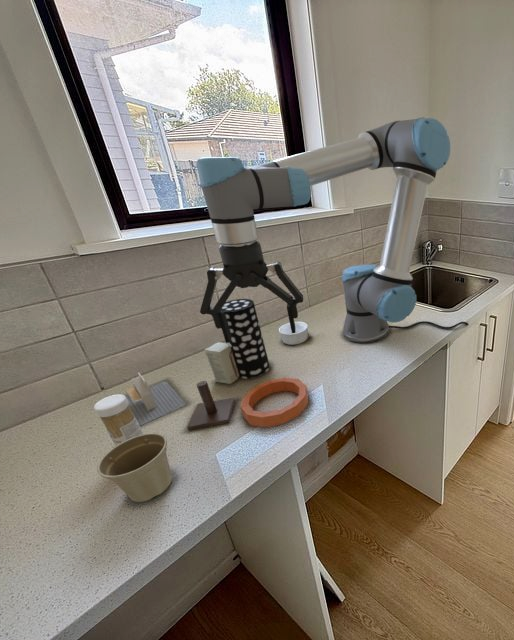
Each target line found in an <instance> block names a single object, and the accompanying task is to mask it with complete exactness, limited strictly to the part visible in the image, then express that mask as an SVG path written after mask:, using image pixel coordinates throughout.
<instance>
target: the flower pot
mask: <svg viewBox="0 0 514 640" xmlns="http://www.w3.org/2000/svg"><path fill="white" fill-rule="evenodd" d="M167 446H168V439H167V437H166V436H165V435H164V434H162V433H159V432H149V433H143V434H142V435H138V436H136V437H133V438H130V439H128V440H126V441H124V442H122V443H120V444H118V445H117V446H115V445H114V447H112V448H111V449H109V450H108V451H107V452H106V453H105V454H104V455H103V456H102V458H101V459H100V460H99V462H98V463H97V466H96V472H97V474H98V475H99V477H102V478H104V479H107V480H109V481H111V482H112V483H114V485H116V486H117V487H118V488H119V489H120V490H121V491H122V492H123V493H124V494H125V495H126V496H127V497H128V498H129V499H130V500H131V501H133V502H135V503H143V502H148V501H150V500H151V499H153V498H154V497H156V496H160V495H161V494H162V493H164V492H165V491H166V490H167V489H168V488H169V487H170V485H171V483H172V481H173V474H172V470H171V467H170V463H169V459H168V454H167V448H168V447H167Z"/></svg>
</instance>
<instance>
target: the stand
mask: <svg viewBox="0 0 514 640" xmlns="http://www.w3.org/2000/svg"><path fill="white" fill-rule="evenodd" d="M209 386H210V385H209V384H208V381H207V380H202V381H199V382H197V383H196V388H197V390H198V393H199V396H200V399H201V401H202V402H201V403H197V404H196V407H195V409H194V411H193V412H192V415H191V418H190V419H189V422H188V424H187V426H186V428H187V431H193V430H197V429H203V428H208V427H213V426H218V425H223V424H228V423H230V419H231V416H232V413H233V410H234V407H235V402H236V398H235V397H230V398H224V399H217V400H214V397H213V394H212V392H211V389H210V387H209Z"/></svg>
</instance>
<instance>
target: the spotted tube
mask: <svg viewBox="0 0 514 640" xmlns="http://www.w3.org/2000/svg"><path fill="white" fill-rule="evenodd" d="M220 311H225V315H226V318H227V322H228V325H229V328H230V332H231V335H232V338H231V341H230V342H229V343H228V345H230V347H231V350H232V354H233V357H234V360H235V363H236V366H237V369H238V373H239V376H240V377H239V378H240V379H245V380H247V379H254V378H258V377H262V376H263V375H265V374H266V373H267V372H268V371H269V370H270V368H271V366H270V362H269V358H268V354H267V350H266V345H265V342H264V338H263V333H262V329H261V325H260V321H259V318H258V313H257V309H256V305H255V301H254V300H253V299H250V298H235V299H232V300H231V299H230V300H227V301H226V302H225V304H224V305H223V307H222V308H221V310H220Z"/></svg>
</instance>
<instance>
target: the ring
mask: <svg viewBox="0 0 514 640" xmlns="http://www.w3.org/2000/svg"><path fill="white" fill-rule="evenodd" d="M285 391H287V392H293V393H296V394H297V396H296V397H295V398H294V400H293V401H292V402H291V403H289V404H287V405H285V406H284V407H282V408H280V409H275V410H270V411H260V410H254V406H255V405H256V404H258V402H259V401H260V400H261V399H263V398H265V397H267V396H270V395H271V394H274V393H278V392H279V393H280V392H285ZM308 404H309V393H308V387H307V385H306V384H305V383H304V382H302V381H301V380H300V379H298V378H292V377H286V376H285V377H279V378H274V379H268V380H266V381H264V382H261V383H259V384H257V385H255V386H253V387H252V388H251V389H250V390H249V391H247V393H245V394H244V395H243V397H242V400H241V403H240V410H241V413H242V416H243V418H244V419H245V420H246V421H247V423H248V425H250V426H255V427H259V428H260V427H261V428H269V427H275V426H276V427H277V426H280V425H284V424H286V423H288V422H290V421H292V420H293V419H295V418H297V417H299V416H300V415H301V414H302V412H304V410H305V409H306V407H307V406H308Z"/></svg>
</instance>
